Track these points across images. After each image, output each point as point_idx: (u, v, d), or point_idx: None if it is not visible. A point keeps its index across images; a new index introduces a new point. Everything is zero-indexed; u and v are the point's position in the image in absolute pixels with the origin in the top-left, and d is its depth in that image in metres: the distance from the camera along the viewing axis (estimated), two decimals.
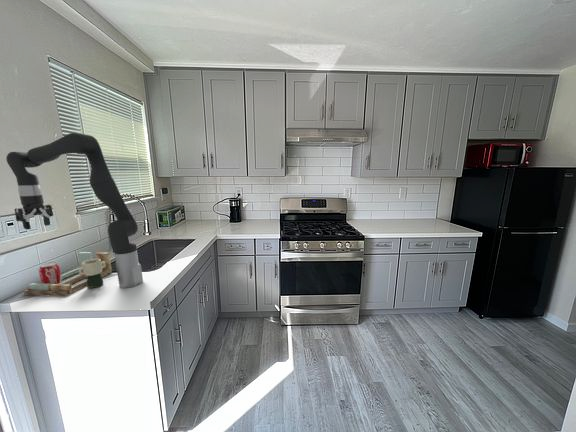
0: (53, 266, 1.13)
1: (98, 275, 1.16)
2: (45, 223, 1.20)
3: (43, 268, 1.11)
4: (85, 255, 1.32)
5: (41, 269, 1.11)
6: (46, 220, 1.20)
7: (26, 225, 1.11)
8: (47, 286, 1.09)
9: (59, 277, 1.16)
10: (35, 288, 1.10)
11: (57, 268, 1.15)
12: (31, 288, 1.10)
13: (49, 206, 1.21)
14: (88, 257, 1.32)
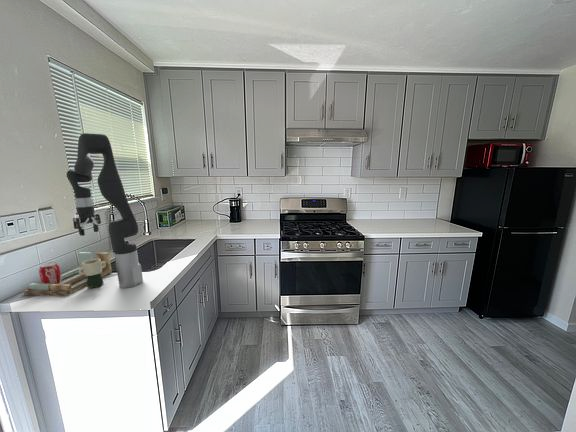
0: (53, 266, 1.13)
1: (98, 275, 1.16)
2: (94, 230, 1.39)
3: (43, 268, 1.11)
4: (85, 255, 1.32)
5: (41, 269, 1.11)
6: (95, 227, 1.38)
7: (81, 232, 1.30)
8: (47, 286, 1.09)
9: (59, 277, 1.16)
10: (35, 288, 1.10)
11: (57, 268, 1.15)
12: (31, 288, 1.10)
13: (98, 215, 1.39)
14: (88, 257, 1.32)
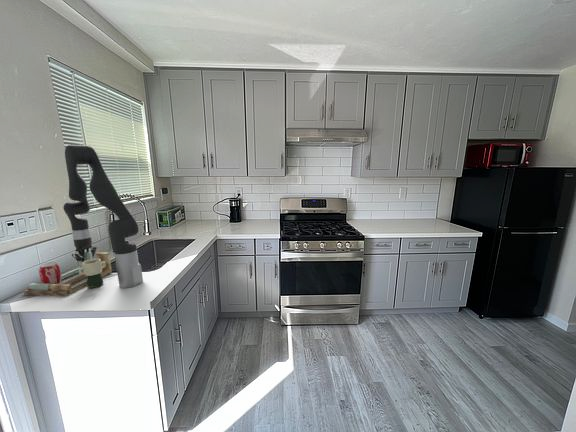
0: (53, 266, 1.13)
1: (98, 275, 1.16)
2: None
3: (43, 268, 1.11)
4: None
5: (41, 269, 1.11)
6: None
7: None
8: (47, 286, 1.09)
9: (59, 277, 1.16)
10: (35, 288, 1.10)
11: (57, 268, 1.15)
12: (31, 288, 1.10)
13: (95, 248, 1.38)
14: (88, 257, 1.32)
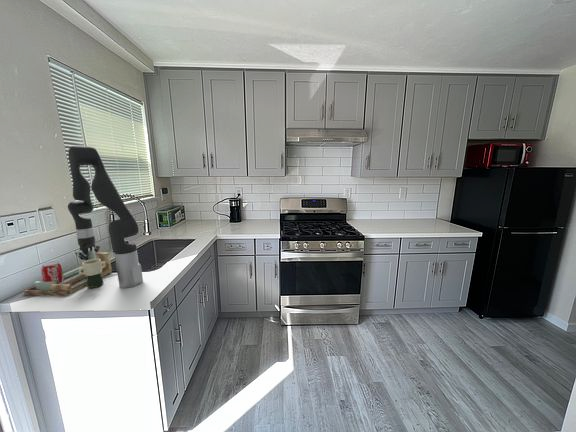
0: (55, 265, 1.14)
1: (98, 275, 1.16)
2: None
3: (45, 267, 1.12)
4: None
5: (43, 268, 1.12)
6: None
7: None
8: None
9: (61, 276, 1.17)
10: (40, 286, 1.12)
11: (59, 267, 1.16)
12: (36, 286, 1.12)
13: (98, 247, 1.40)
14: (91, 256, 1.34)
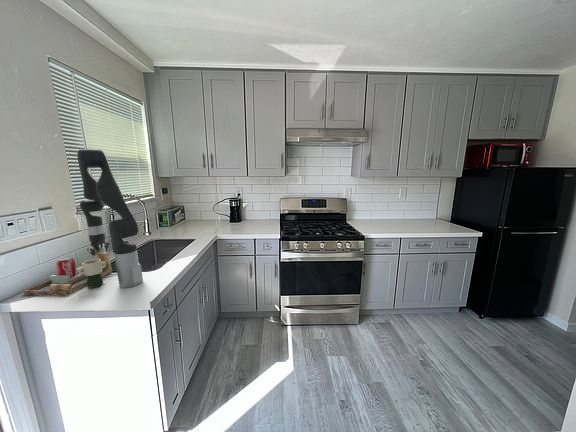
0: (69, 260, 1.21)
1: (98, 275, 1.16)
2: None
3: (60, 262, 1.19)
4: None
5: (58, 263, 1.19)
6: None
7: None
8: (67, 277, 1.18)
9: (75, 271, 1.23)
10: (55, 279, 1.19)
11: (73, 262, 1.22)
12: (52, 279, 1.19)
13: (108, 243, 1.47)
14: (102, 252, 1.41)
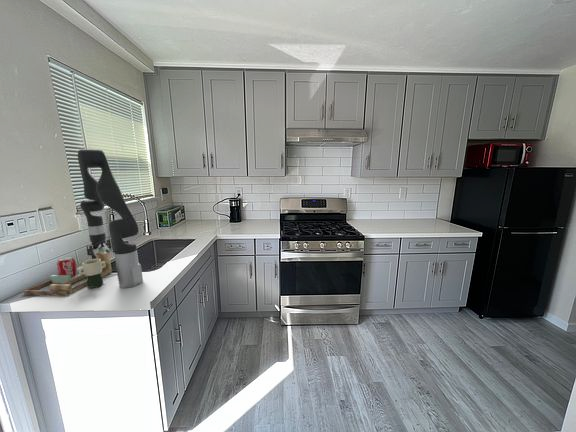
0: (70, 260, 1.21)
1: (98, 275, 1.16)
2: None
3: (61, 262, 1.19)
4: (99, 250, 1.41)
5: (59, 262, 1.19)
6: (106, 252, 1.46)
7: (94, 258, 1.38)
8: (67, 277, 1.18)
9: (75, 271, 1.24)
10: (56, 279, 1.19)
11: (73, 262, 1.23)
12: (52, 279, 1.19)
13: (109, 240, 1.47)
14: (102, 251, 1.41)
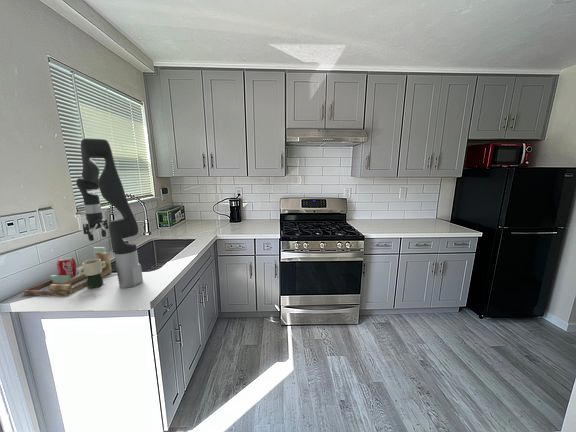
0: (70, 260, 1.21)
1: (98, 275, 1.16)
2: (102, 235, 1.44)
3: (61, 262, 1.19)
4: (99, 250, 1.41)
5: (59, 262, 1.19)
6: (103, 232, 1.44)
7: (91, 237, 1.35)
8: (67, 277, 1.18)
9: (75, 271, 1.24)
10: (56, 279, 1.19)
11: (73, 262, 1.23)
12: (52, 279, 1.19)
13: (106, 221, 1.45)
14: (102, 251, 1.41)
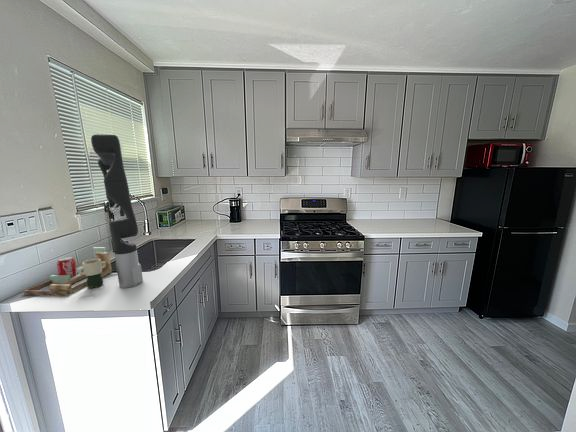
0: (69, 260, 1.21)
1: (98, 275, 1.16)
2: (121, 214, 1.50)
3: (60, 262, 1.19)
4: (99, 250, 1.41)
5: (59, 263, 1.19)
6: (122, 212, 1.50)
7: (111, 215, 1.41)
8: (67, 277, 1.18)
9: (75, 271, 1.23)
10: (56, 279, 1.19)
11: (73, 262, 1.23)
12: (52, 279, 1.19)
13: None
14: (102, 252, 1.41)
